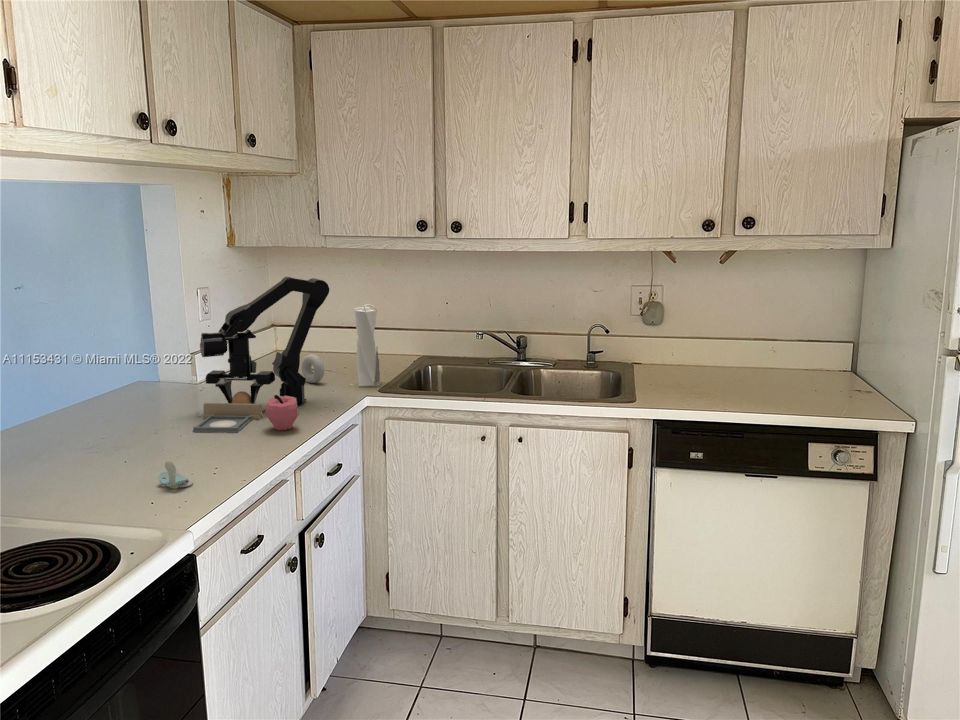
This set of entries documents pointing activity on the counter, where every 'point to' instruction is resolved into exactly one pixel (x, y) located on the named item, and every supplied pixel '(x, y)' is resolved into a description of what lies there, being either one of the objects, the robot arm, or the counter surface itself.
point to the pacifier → (173, 477)
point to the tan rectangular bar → (232, 410)
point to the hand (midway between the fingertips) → (242, 405)
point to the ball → (241, 398)
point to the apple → (282, 411)
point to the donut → (307, 368)
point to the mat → (223, 424)
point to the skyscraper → (367, 347)
